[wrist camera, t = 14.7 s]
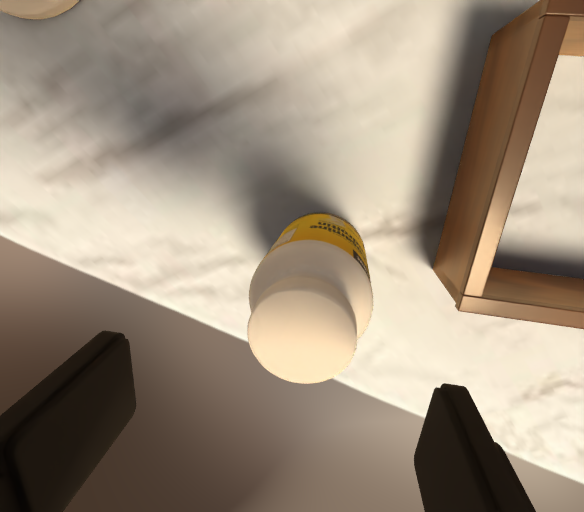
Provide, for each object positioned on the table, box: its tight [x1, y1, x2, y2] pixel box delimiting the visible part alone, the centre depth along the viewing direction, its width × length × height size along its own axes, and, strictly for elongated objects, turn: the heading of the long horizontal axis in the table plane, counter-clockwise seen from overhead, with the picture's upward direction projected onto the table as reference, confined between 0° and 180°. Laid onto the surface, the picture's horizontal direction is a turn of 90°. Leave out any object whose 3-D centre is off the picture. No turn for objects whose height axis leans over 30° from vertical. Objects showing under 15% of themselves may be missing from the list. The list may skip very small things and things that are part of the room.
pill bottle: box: [248, 212, 373, 383], centre depth 19 cm, size 6×6×12 cm
